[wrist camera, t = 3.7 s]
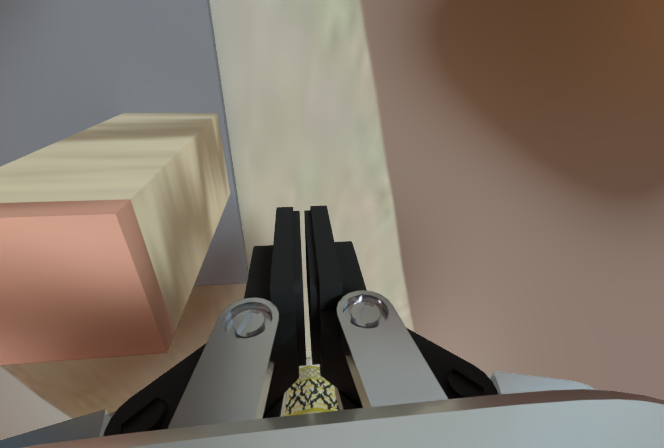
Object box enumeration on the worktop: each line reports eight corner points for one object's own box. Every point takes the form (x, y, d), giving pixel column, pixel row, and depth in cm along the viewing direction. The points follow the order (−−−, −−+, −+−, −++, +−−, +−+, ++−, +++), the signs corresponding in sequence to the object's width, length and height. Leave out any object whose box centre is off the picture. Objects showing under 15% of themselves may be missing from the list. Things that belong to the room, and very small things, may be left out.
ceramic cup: (340, 333, 29) (360, 456, 20) (367, 390, 34) (393, 508, 26) (211, 374, 30) (178, 508, 21) (257, 424, 35) (245, 549, 26)
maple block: (123, 113, 17) (-126, 221, 7) (217, 112, 18) (115, 214, 7) (148, 195, 20) (-8, 366, 9) (230, 193, 20) (166, 352, 10)
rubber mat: (-207, -82, 13) (-227, -87, 12) (200, -59, 15) (197, -63, 14) (24, 290, 23) (18, 295, 22) (249, 277, 25) (248, 283, 24)
